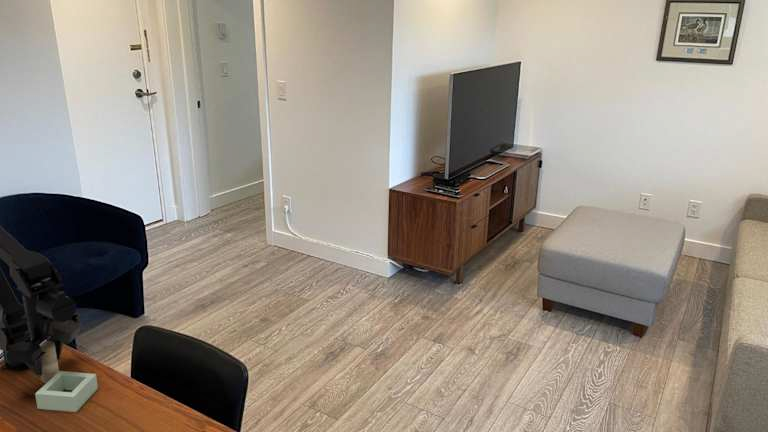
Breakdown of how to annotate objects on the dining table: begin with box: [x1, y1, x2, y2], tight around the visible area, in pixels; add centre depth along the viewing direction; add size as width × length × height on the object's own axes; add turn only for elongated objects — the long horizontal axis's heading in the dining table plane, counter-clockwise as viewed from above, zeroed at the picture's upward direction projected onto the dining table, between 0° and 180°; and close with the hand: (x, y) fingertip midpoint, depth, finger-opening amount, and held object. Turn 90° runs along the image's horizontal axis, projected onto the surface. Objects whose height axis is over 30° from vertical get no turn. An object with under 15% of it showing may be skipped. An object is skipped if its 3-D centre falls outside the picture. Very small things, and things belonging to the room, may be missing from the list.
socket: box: [34, 370, 99, 413], centre depth 134 cm, size 9×9×4 cm
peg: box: [39, 340, 60, 384], centre depth 141 cm, size 4×4×9 cm
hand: (48, 367), depth 141 cm, fingers open, 7 cm apart
